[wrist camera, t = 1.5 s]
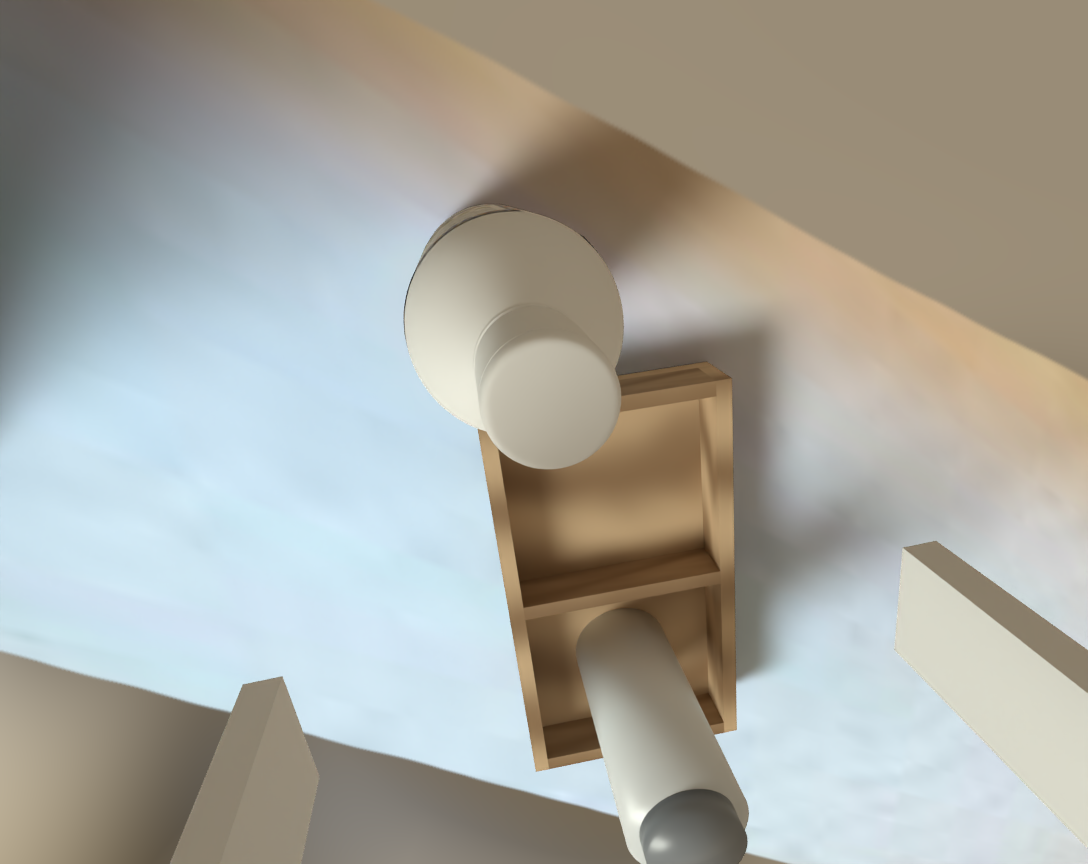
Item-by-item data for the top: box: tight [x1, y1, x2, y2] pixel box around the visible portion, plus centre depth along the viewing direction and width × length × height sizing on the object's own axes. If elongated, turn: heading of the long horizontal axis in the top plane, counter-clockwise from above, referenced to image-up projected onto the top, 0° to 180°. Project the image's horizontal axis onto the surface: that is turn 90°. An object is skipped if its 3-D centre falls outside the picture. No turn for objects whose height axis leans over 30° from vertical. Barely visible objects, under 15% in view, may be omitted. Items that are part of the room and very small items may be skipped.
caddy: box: [478, 362, 737, 772], centre depth 37 cm, size 23×13×3 cm, turn 7°
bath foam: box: [404, 204, 624, 469], centre depth 22 cm, size 7×7×20 cm
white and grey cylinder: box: [576, 608, 749, 864], centre depth 33 cm, size 6×6×13 cm
